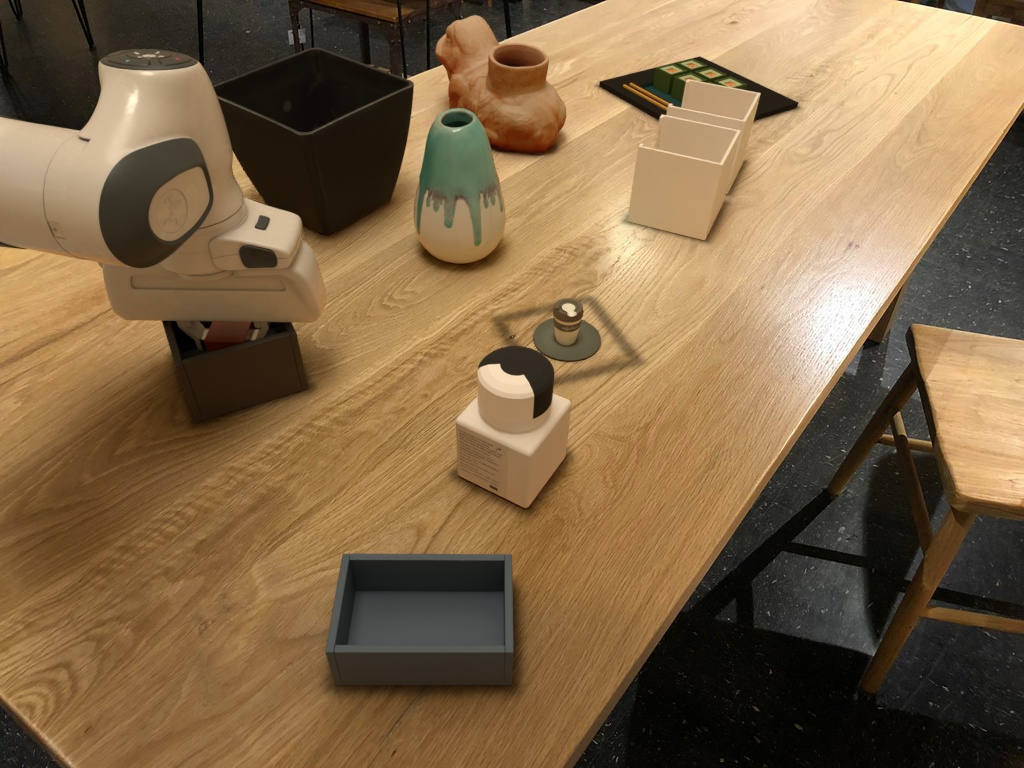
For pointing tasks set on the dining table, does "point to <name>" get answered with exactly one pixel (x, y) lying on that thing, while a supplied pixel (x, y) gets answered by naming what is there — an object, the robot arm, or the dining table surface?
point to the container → (513, 426)
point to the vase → (458, 191)
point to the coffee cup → (567, 333)
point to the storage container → (693, 159)
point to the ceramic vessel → (501, 87)
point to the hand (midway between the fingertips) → (234, 347)
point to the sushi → (668, 85)
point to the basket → (237, 370)
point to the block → (227, 334)
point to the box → (422, 620)
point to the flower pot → (319, 134)
